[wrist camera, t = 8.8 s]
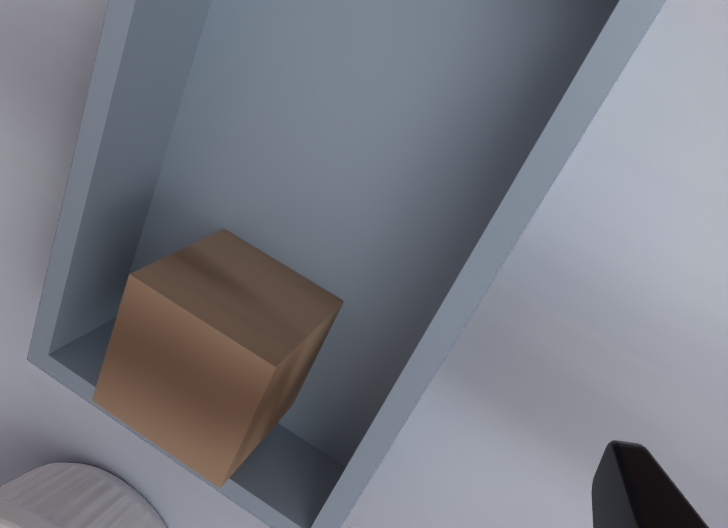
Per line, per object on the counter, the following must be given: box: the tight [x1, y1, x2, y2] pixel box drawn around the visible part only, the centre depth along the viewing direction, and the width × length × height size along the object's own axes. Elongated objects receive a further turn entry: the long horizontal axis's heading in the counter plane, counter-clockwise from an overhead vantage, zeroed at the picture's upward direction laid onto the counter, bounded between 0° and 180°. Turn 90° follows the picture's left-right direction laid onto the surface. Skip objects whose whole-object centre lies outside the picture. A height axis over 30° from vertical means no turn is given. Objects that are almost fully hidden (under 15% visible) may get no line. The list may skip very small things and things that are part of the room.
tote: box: [27, 0, 666, 528], centre depth 19 cm, size 20×13×4 cm, turn 154°
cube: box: [92, 229, 344, 488], centre depth 21 cm, size 5×5×5 cm
